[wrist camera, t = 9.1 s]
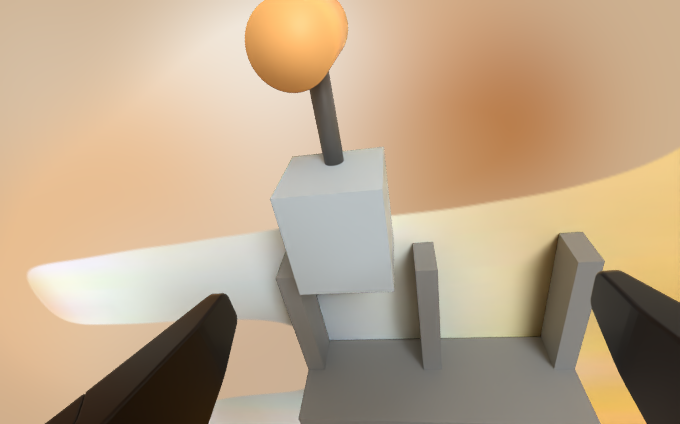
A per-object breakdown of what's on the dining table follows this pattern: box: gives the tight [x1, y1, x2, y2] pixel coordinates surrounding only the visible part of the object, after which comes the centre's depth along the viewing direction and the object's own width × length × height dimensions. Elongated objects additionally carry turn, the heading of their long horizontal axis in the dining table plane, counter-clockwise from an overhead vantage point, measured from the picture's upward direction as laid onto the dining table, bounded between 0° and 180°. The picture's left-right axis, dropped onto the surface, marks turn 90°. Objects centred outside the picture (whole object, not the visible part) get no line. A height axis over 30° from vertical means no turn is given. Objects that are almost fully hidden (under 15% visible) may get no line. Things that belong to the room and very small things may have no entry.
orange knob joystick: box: [245, 0, 394, 295], centre depth 17 cm, size 14×5×5 cm, turn 9°
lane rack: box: [276, 232, 605, 424], centre depth 22 cm, size 10×18×6 cm, turn 100°
